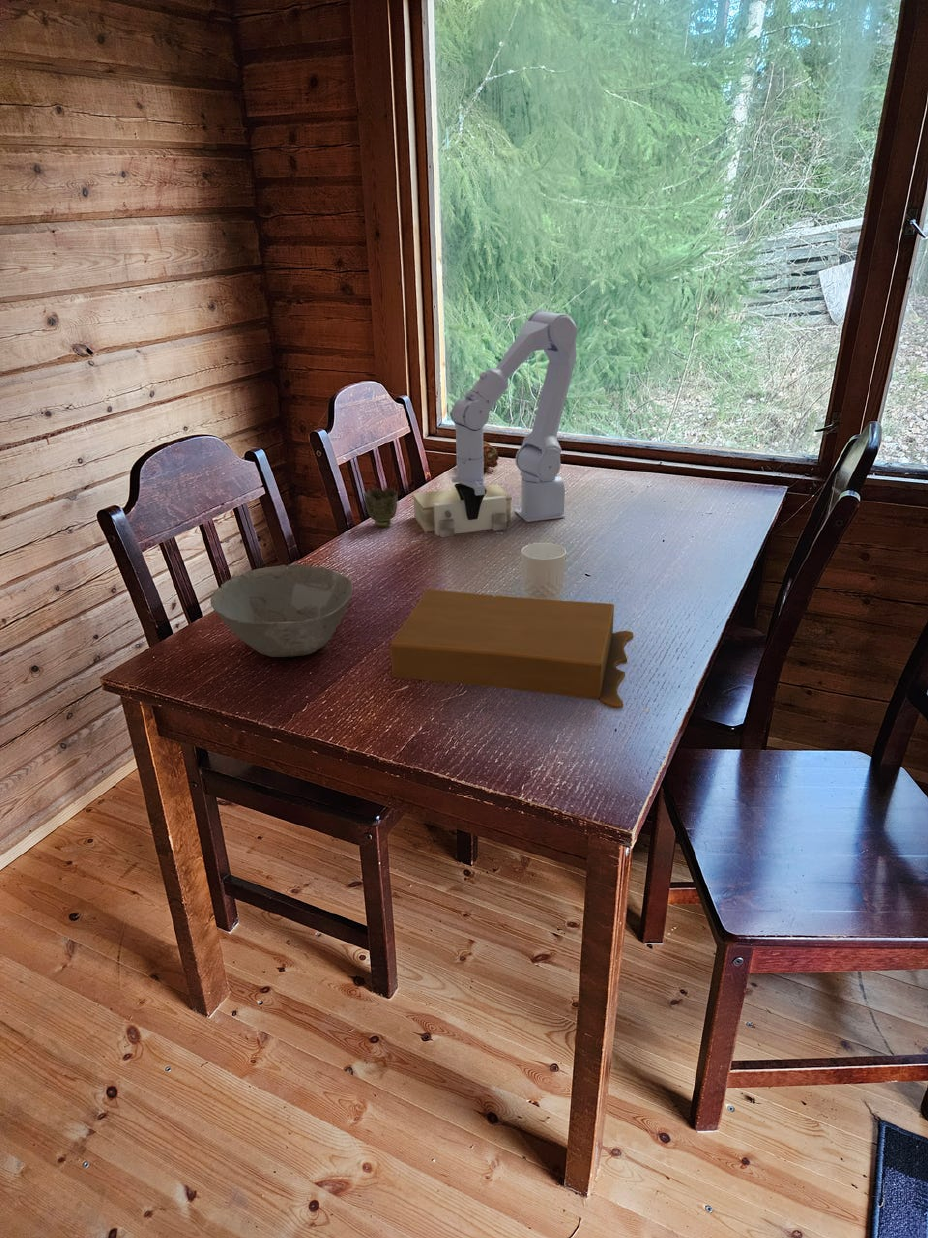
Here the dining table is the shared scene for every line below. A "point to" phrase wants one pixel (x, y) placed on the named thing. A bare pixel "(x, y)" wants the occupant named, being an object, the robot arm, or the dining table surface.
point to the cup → (381, 505)
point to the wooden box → (513, 644)
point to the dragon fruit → (489, 456)
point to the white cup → (543, 570)
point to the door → (459, 516)
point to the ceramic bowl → (284, 607)
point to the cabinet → (427, 500)
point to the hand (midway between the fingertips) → (470, 517)
